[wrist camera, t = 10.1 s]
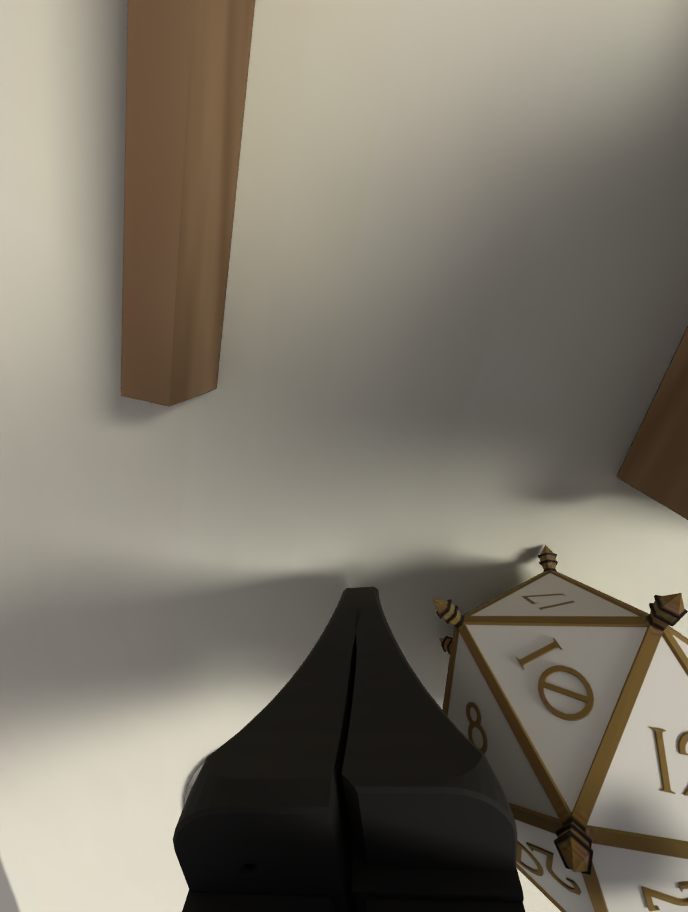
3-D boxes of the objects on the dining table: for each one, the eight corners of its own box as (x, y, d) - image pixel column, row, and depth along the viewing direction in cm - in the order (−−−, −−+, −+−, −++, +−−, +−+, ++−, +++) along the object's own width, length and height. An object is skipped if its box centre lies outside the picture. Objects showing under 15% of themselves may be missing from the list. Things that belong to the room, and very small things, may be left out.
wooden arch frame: (1136, -456, 6) (1734, -1071, 4) (653, 485, 12) (740, 532, 9) (249, -652, 6) (155, -1415, 4) (179, 380, 12) (121, 395, 9)
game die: (495, 595, 18) (524, 909, 12) (364, 530, 14) (319, 954, 8) (755, 562, 12) (1039, 1142, 6) (657, 431, 8) (1195, 1699, 2)
